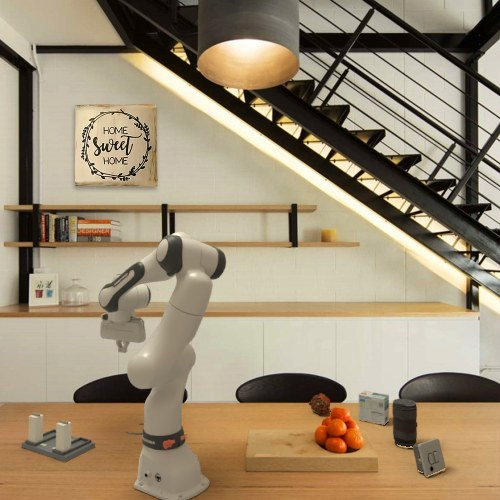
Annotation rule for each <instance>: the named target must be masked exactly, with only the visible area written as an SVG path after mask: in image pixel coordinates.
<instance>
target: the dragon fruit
mask: <svg viewBox="0 0 500 500" xmlns="http://www.w3.org/2000/svg"><path fill="white" fill-rule="evenodd" d="M308 405H309V406H310V408H311V410H312V411H313V412H314V413H317V414H318V415H322V416H323V415H325V414H326V413H327V414H328V413H329V412H330V410H331V400H330V398H329V396H326V395H325V394H323V393H322V392H321V393H319V394H317V395H316V394H315V395H314V396H313V397H312V399H311V400H310V401H309V402H308Z"/></svg>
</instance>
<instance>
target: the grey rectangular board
mask: <svg viewBox="0 0 500 500" xmlns="http://www.w3.org/2000/svg"><path fill="white" fill-rule="evenodd" d="M21 448H23V449H25V450H29V451H31V452H34V453H37V454H40V455H42V456H43V455H44V456H46V457H50V458H53V459H55V460H59V461H61V462H64V463H66V462H68V461H70V460H73V459H75V458H76V457H78V456H80V455H82V454H84V453H86V452H89V451H90V450H92V449H94V448H96V443H95V442H94V441H92V439H89V438H87V437H82V436H80V437H77V436H74V435H71V449H69V450H67V451H65V452H61V451H58V450H56V428H54V429H51V430H48V431H46V432H43V440H42V441H39V442H37V443H33V442H30V441H28V439H26V440H24V441H23V442H21Z"/></svg>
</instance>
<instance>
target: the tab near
mask: <svg viewBox="0 0 500 500" xmlns="http://www.w3.org/2000/svg"><path fill="white" fill-rule="evenodd" d="M55 430H56V450H58V451H61V452H65V451H67V450H69V449H71V436H72V422H71V421H67V420H64V419H59V422H57V423H55Z"/></svg>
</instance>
